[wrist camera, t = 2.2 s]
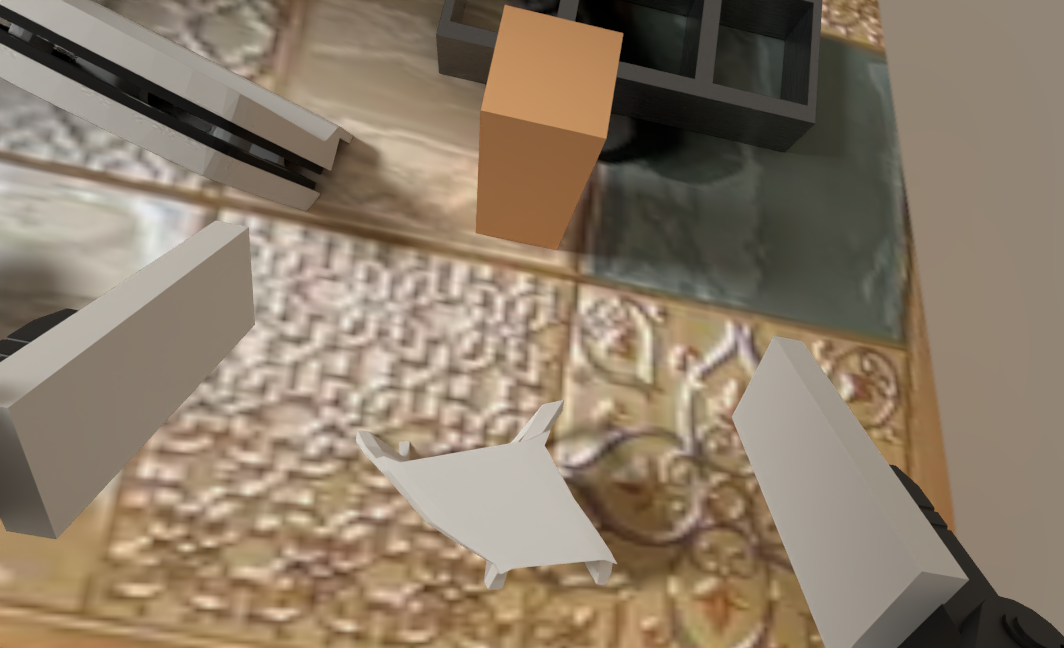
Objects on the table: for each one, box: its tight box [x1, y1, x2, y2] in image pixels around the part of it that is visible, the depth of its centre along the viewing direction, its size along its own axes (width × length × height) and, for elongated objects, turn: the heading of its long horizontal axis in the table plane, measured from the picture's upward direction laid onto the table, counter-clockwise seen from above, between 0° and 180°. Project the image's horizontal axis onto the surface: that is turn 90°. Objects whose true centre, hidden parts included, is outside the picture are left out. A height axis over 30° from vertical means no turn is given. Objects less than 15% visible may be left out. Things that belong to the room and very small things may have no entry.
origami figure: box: [356, 400, 617, 589], centre depth 25 cm, size 12×8×5 cm
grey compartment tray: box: [436, 0, 822, 152], centre depth 32 cm, size 21×9×3 cm, turn 80°
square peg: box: [476, 5, 623, 250], centre depth 25 cm, size 4×4×11 cm
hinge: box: [0, 0, 353, 211], centre depth 25 cm, size 17×5×10 cm, turn 64°
